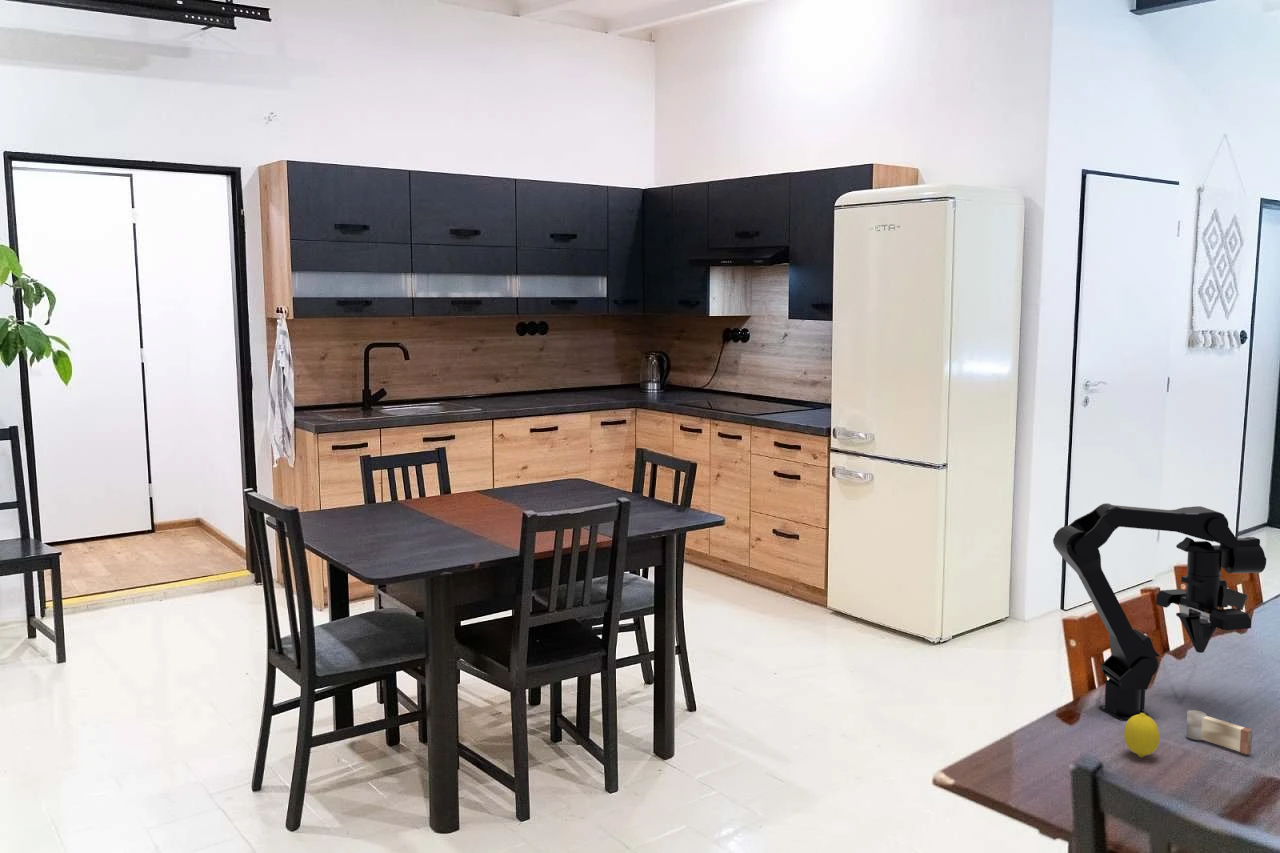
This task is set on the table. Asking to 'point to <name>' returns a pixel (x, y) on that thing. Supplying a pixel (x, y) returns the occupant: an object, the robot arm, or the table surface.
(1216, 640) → the table surface
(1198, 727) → the cream brown-tipped bar
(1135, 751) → the lemon
